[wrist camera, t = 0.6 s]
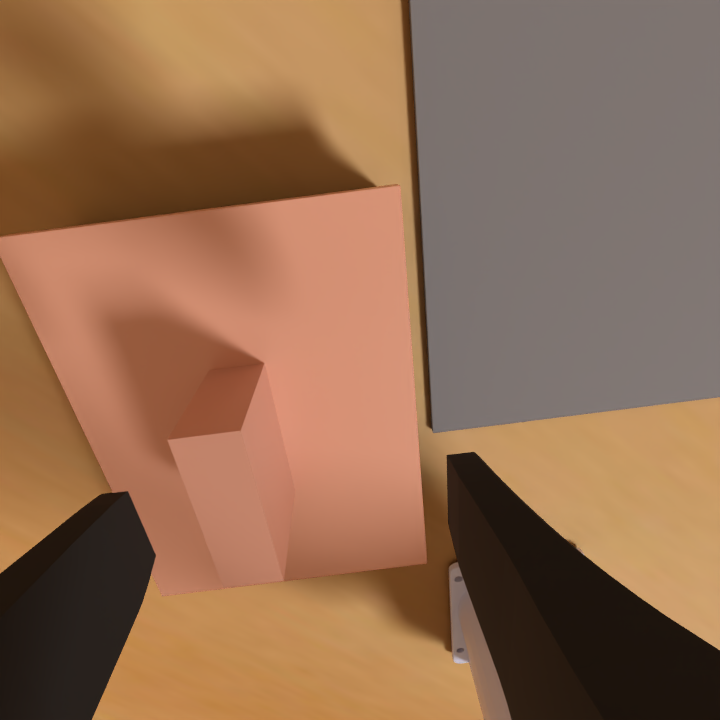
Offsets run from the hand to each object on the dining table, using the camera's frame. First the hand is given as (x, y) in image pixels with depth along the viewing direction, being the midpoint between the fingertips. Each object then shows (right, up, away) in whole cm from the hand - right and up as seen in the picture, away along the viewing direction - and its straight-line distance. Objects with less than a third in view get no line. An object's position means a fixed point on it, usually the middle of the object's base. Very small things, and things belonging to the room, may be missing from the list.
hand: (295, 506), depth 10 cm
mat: (+11, +9, +8) cm, 17 cm away
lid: (-3, +1, +8) cm, 8 cm away
